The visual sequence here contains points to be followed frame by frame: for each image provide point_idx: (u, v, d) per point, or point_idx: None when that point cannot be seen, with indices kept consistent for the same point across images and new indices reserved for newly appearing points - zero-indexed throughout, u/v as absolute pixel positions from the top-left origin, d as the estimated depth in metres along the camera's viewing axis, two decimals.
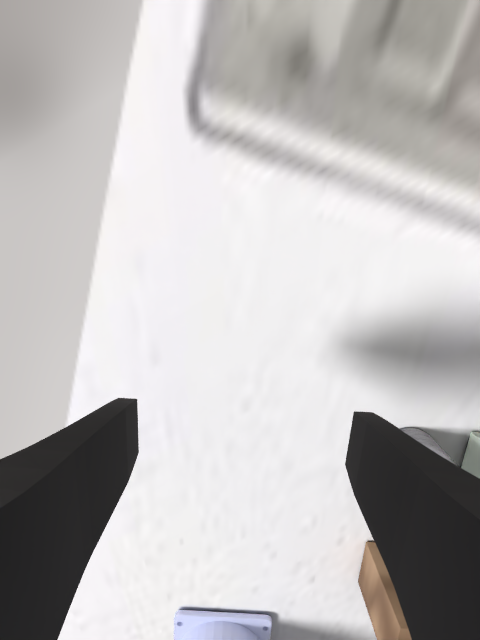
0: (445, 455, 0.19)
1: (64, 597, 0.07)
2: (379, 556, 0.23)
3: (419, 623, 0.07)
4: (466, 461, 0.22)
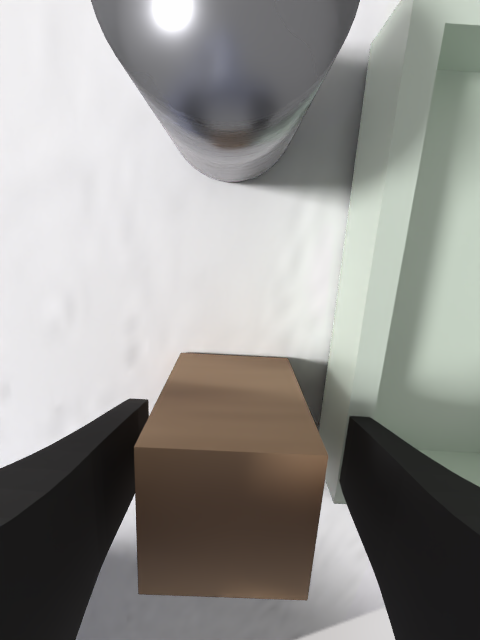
0: None
1: (81, 598, 0.07)
2: (191, 365, 0.11)
3: (402, 622, 0.07)
4: (363, 121, 0.10)
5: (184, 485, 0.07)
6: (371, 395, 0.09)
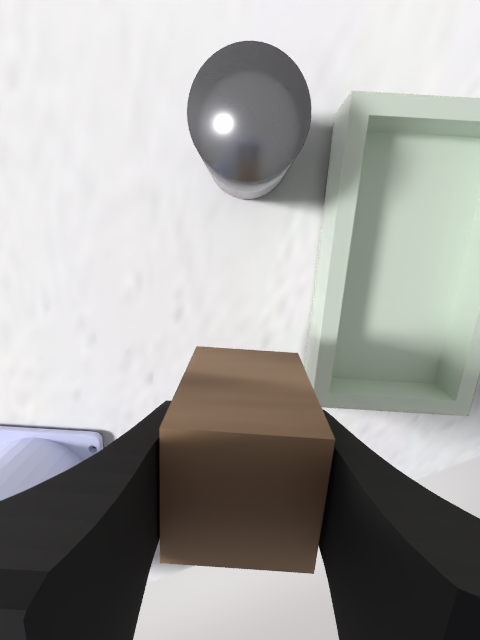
0: None
1: (136, 601, 0.07)
2: (207, 357, 0.11)
3: (343, 619, 0.07)
4: (330, 162, 0.15)
5: (203, 463, 0.07)
6: (334, 333, 0.15)
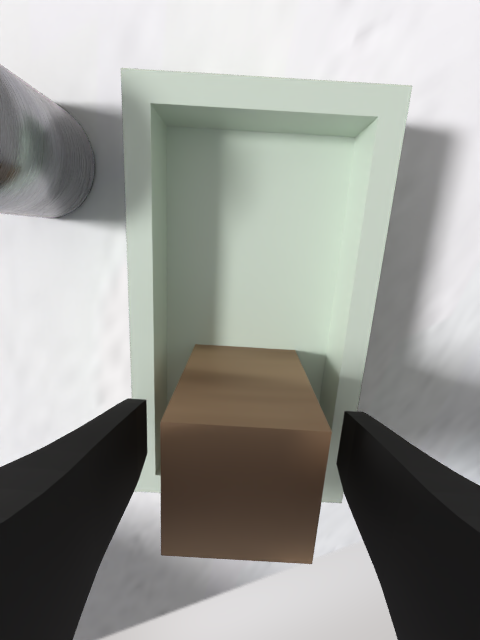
0: None
1: (78, 598, 0.07)
2: (206, 355, 0.12)
3: (404, 622, 0.07)
4: None
5: (203, 456, 0.08)
6: (149, 400, 0.11)
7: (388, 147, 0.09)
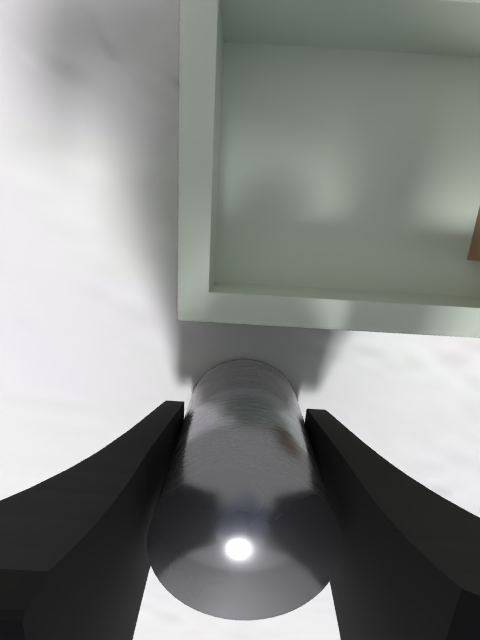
0: (182, 427, 0.09)
1: (136, 601, 0.07)
2: None
3: (345, 619, 0.07)
4: None
5: None
6: None
7: None
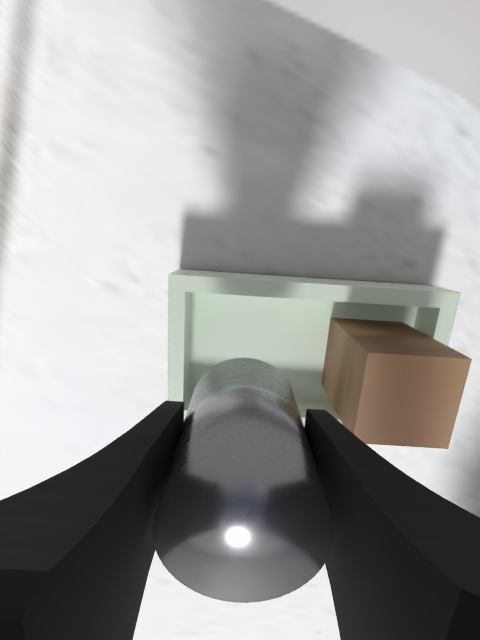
0: (184, 421, 0.10)
1: (136, 601, 0.07)
2: (327, 383, 0.17)
3: (345, 619, 0.07)
4: None
5: (377, 422, 0.13)
6: None
7: (200, 284, 0.15)
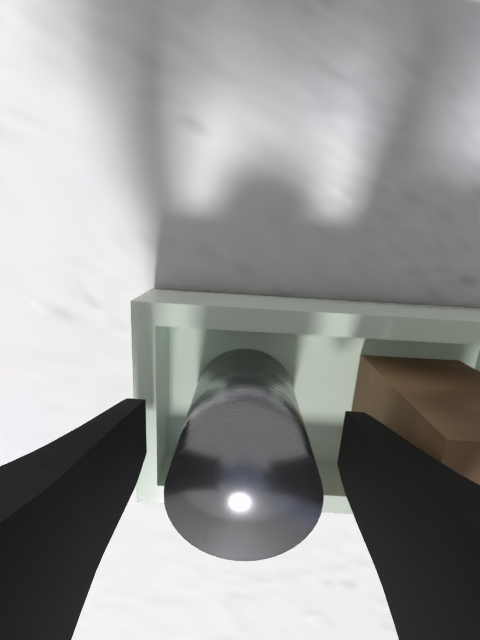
0: (191, 404, 0.11)
1: (77, 598, 0.07)
2: None
3: (406, 622, 0.07)
4: None
5: None
6: None
7: (178, 315, 0.10)
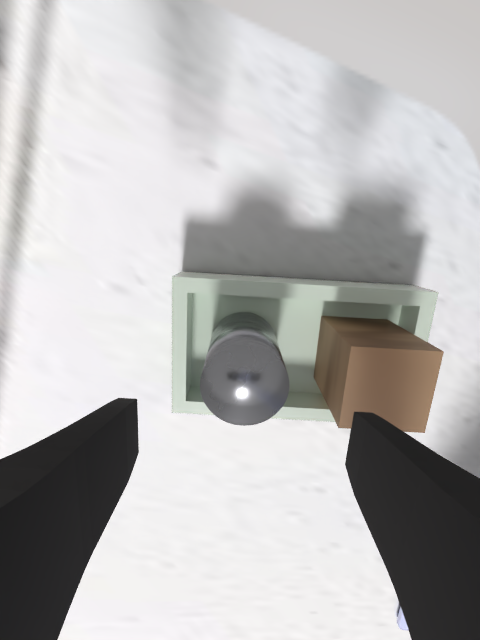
0: (211, 342, 0.17)
1: (64, 597, 0.07)
2: (318, 376, 0.19)
3: (419, 623, 0.07)
4: None
5: (361, 408, 0.14)
6: None
7: (201, 285, 0.17)
